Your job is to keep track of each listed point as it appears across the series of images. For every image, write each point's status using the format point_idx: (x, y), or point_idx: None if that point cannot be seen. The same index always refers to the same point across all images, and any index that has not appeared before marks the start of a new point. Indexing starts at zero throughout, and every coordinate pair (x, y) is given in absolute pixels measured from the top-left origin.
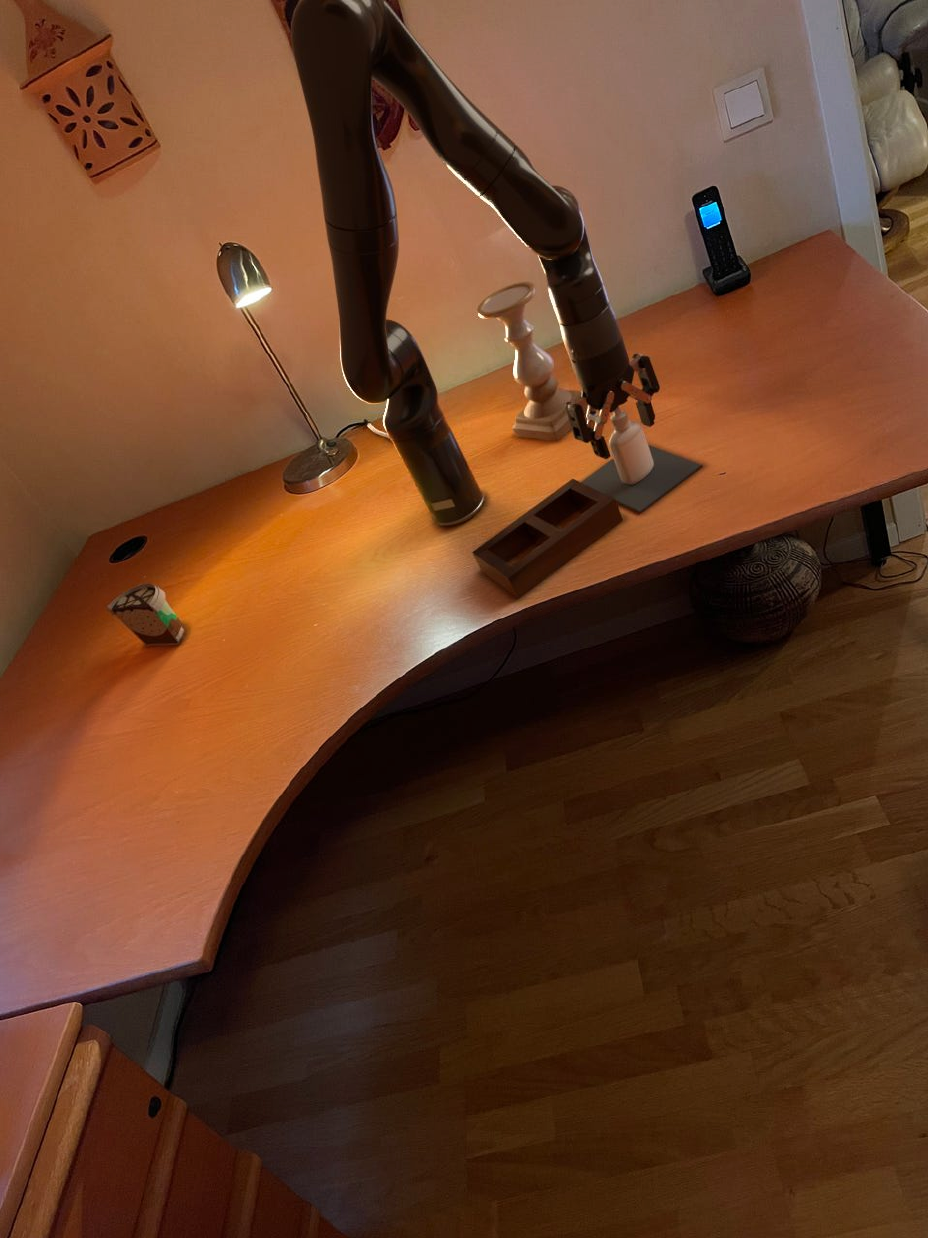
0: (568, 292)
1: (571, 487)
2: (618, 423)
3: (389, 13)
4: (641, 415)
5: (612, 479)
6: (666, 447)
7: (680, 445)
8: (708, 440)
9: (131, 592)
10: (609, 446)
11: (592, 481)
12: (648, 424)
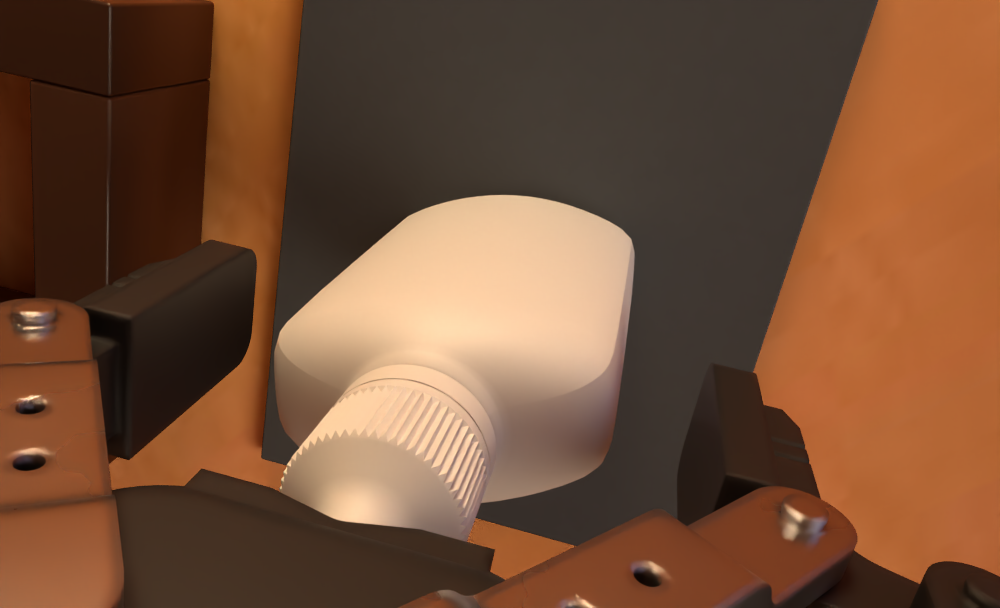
0: None
1: (40, 79)
2: None
3: None
4: (706, 431)
5: (424, 111)
6: (842, 252)
7: (874, 336)
8: (941, 483)
9: None
10: (285, 324)
11: None
12: (684, 450)
